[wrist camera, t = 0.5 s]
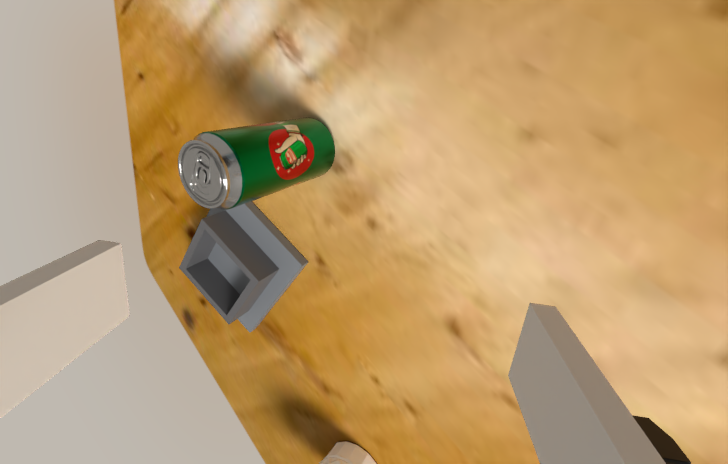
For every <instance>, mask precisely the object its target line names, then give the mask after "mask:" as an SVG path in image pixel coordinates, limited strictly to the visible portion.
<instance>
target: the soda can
mask: <svg viewBox="0 0 728 464" xmlns="http://www.w3.org/2000/svg"><path fill="white" fill-rule="evenodd" d="M334 157H335V146H334V141H333V138H332V136H331V134H330V132H329V130H328V129H327V128H326V127H325V125H324V124H322V123H321V122H320V121H318V120H316V119H314V118H299V119H292V120H285V121H278V122H271V123H264V124H257V125H250V126H243V127H236V128H229V129H222V130H215V131H208V132H202V133H200V134H198V135H197V136H196V137H195V138H194V139H193V140H191V141H189V142H187V143H186V144H184V145H183V147H182V148H181V150H180V153H179V158H178V169H179V174H180V178H181V181H182V183H183V186H184V188H185V190H186V191H187V193H188V194H189V195H190V197H191V198H192V199H193V200H194V201H195V202H196V203H198V204H199V205H201V206H202V207H205V208H218V209H223V210H227V209H231V208H234V207H237V206H240V205H242V204H245V203H248V202H251V201H253V200H256V199H259V198H261V197H264V196H267V195H270V194H272V193H275V192H278V191H281V190H283V189H286V188H289V187H291V186H294V185H297V184H300V183H302V182H305V181H308V180H310V179H313V178H316V177H319V176H321V175H323V174H325V173H326V172H327V171H328V170H329V169H330V167H331V166H332V164H333V161H334Z"/></svg>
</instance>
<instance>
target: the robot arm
mask: <svg viewBox="0 0 728 464" xmlns="http://www.w3.org/2000/svg"><path fill="white" fill-rule="evenodd" d="M129 316H130V312H129V304H128V296H127V287H126V279H125V272H124V263H123V255H122V247H121V243H115V242H109V241H101V240H98V241H96V242H94V243H92V244H89V245H87V246H85V247H83V248H81V249H79V250H77V251H74V252H72V253H70V254H68V255H66V256H64V257H62V258H60V259H57V260H55V261H53V262H51V263H49V264H47V265H45V266H42V267H40V268H38V269H36V270H34V271H32V272H30V273H28V274H25V275H23V276H21V277H19V278H17V279H15V280H13V281H10V282H9V283H6V284H4V285H2V286H0V418H2V417H3V416H4V415H5V414H7V413H8V412H9V411H10V410H12V409H13V408H14V407H16V406H17V405H18V404H19V403H21V402H22V401H23V400H24V399H26V398H27V397H28V396H29V395H31V394H32V393H33V392H34V391H36V390H37V389H38V388H39V387H41V386H42V385H43V384H44V383H46V382H47V381H48V380H50V379H51V378H52V377H53V376H55V375H56V374H57V373H58V372H60V371H61V370H62V369H63V368H65V367H66V366H67V365H68V364H70V363H71V362H72V361H73V360H75V359H76V358H77V357H78V356H80V355H81V354H82V353H84V352H85V351H86V350H87V349H89V348H90V347H91V346H92V345H94V344H95V343H96V342H97V341H99V340H100V339H101V338H102V337H104V336H105V335H106V334H107V333H109V332H110V331H111V330H113V329H114V328H115V327H116V326H118V325H119V324H120V323H121V322H123V321H124V320H125V319H126V318H128V317H129ZM508 376H509V379H510V382H511V384H512V387H513V390H514V393H515V395H516V398H517V401H518V404H519V406H520V409H521V412H522V415H523V417H524V420H525V423H526V426H527V429H528V431H529V434H530V437H531V440H532V442H533V445H534V448H535V451H536V453H537V456H538V459H539V462H540V464H691V462H690V460H689V459H688V458H687V457H686V455H685V454H684V453H683V451H682V450H681V449H680V448H679V446H678V445H677V444H676V442H675V441H674V440H673V439H672V438H671V437H670V436H669V435H668V434H666V433H665V432H664V431H663V430H662V429H661V428H659V427H658V426H657V425H656V424H655V423H654V422H652V421H651V420H650V419H649V418H645V417H638V416H632V415H631V413H630V412H629V410H628V409H627V408H626V406H625V405H624V403H623V402H622V400H621V399H620V398H619V396H618V395H617V393H616V392H615V391H614V389H613V388H612V386H611V385H610V383H609V382H608V381H607V379H606V378H605V376H604V375H603V373H602V372H601V371H600V369H599V368H598V366H597V365H596V364H595V362H594V361H593V359H592V358H591V356H590V355H589V354H588V352H587V351H586V349H585V348H584V346H583V345H582V344H581V342H580V341H579V339H578V338H577V337H576V335H575V334H574V332H573V331H572V329H571V328H570V327H569V325H568V324H567V322H566V321H565V319H564V318H563V317H562V315H561V314H560V312H559V311H558V310H557V308H556V307H555V306H548V305H541V304H534V303H530V304H529V307H528V311H527V314H526V317H525V321H524V324H523V328H522V331H521V334H520V338H519V341H518V344H517V348H516V351H515V355H514V358H513V361H512V365H511V368H510V371H509V375H508Z"/></svg>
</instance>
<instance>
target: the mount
mask: <svg viewBox="0 0 728 464" xmlns="http://www.w3.org/2000/svg"><path fill="white" fill-rule="evenodd" d="M307 263H308V261H307V260H306V259H305V258H304V257H303V256H302V255H301V254H300V252H299V251H298V250H297V249H296V248H295V247H294V246H293V245H292V244H291V243H290V242H289V241H288V240H287V239H286V238H285V236H284V235H283V234H282V233H281V232H280V231H279V230H278V229H277V228H276V227H275V226H274V225H273V224H272V223H271V221H270V220H269V219H268V218H267V217H266V216H265V215H264V214H263V213H262V212H261V211H260V210H259V209H258V208H257V207H256V205H255V204H254V203H253V202H252V201H251V202H248V203H245V204H242V205H240V206H237V207H234V208H231V209H227V210H223V209H218V208H210V211H209V213H208V215H207V217H205V218H203V219H202V220H201V222H200V224H199V226H198V228H197V231H196V233H195V235H194V237H193V239H192V241H191V243H190V246H189V248H188V250H187V252H186V254H185V256H184V259H183V261H182V263H181V265H180V267H179V268H180V269H181V270H182V271H183V273H184V274H185V275H186V276H187V277H188V278H189V279H190V281H191V282H192V283H193V284H194V285H195V286H196V287H197V289H198V290H199V291H200V292H201V293H202V294H203V295H204V297H205V298H206V299H207V300H208V301H209V302H210V303H211V305H212V306H213V307H214V308H215V309H216V310H217V311H218V312H219V314H220V315H221V316H222V317H223V318H224V319H225V320H226V322H227V323H228V324H230V323H232V322H233V321H235V320H236V319H238V320H239V321H240V322H241V323H242V324H243V325H244V327H245V328H246V329H247V330H248V331H249V332H251V331H253V330H254V329H255V328H256V327H257V326H258V325H259V324H260V322H261V321H262V320H263V319H264V317H265V316H266V315H267V313H268V312H269V311H270V310H271V308H272V307H273V306H274V305H275V303H276V302H277V301H278V300H279V298H280V297H281V296H282V295H283V293H284V292H285V291H286V290H287V288H288V287H289V286H290V284H291V283H292V282H293V281H294V279H295V278H296V277H297V276H298V274H299V273H300V272H301V271H302V269H303V268H304V267H305V266H306V264H307Z"/></svg>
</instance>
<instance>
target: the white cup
mask: <svg viewBox="0 0 728 464" xmlns="http://www.w3.org/2000/svg"><path fill="white" fill-rule="evenodd" d="M319 464H377V463H376V462H375V461H374V459H373V458H372V457H371V456H370V455H369V453H367V452H366V451H365V450H363V449H362V448H361V447H359V446H358V445H356V444H353V443H350V442H347V441H344V442H337V443H336V444H335V445H334V447H333V448H332V449H331V450H330V452H329V453H328V454H327V456H326V457H325V458H324V459H323V460H322V461H321V462H320V463H319Z"/></svg>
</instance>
